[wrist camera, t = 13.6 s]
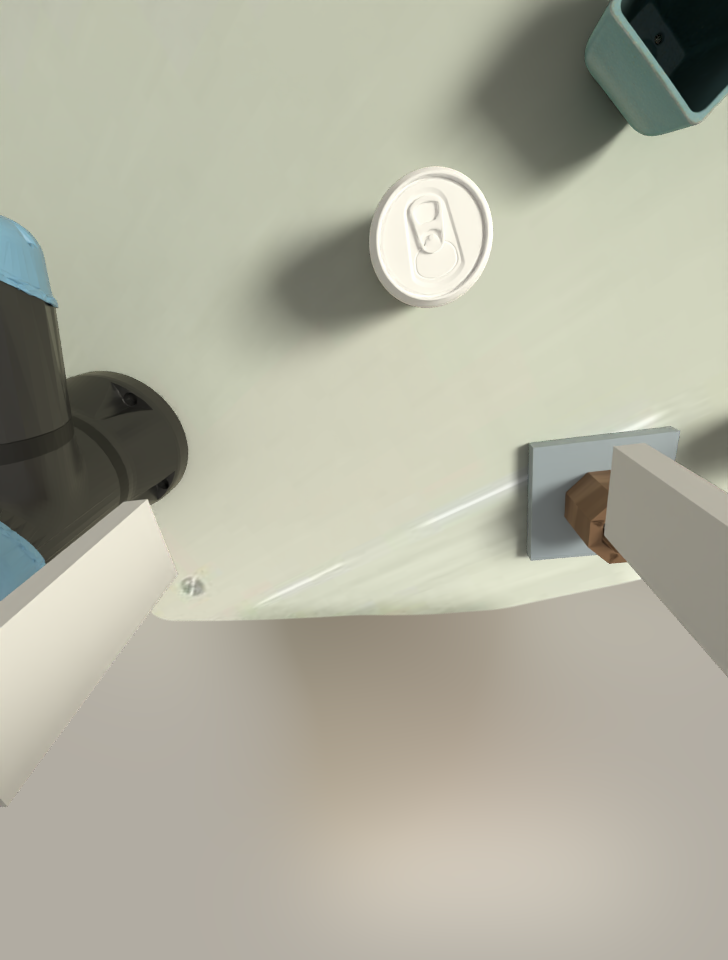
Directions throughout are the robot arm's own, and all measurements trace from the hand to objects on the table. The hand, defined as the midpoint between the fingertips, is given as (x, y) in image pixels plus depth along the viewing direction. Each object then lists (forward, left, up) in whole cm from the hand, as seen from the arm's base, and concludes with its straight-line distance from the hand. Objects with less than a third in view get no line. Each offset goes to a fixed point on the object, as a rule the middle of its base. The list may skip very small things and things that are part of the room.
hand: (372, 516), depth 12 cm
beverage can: (+4, +8, -32) cm, 33 cm away
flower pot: (+21, +18, -32) cm, 42 cm away
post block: (+21, -18, -32) cm, 42 cm away
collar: (+21, -18, -30) cm, 41 cm away
